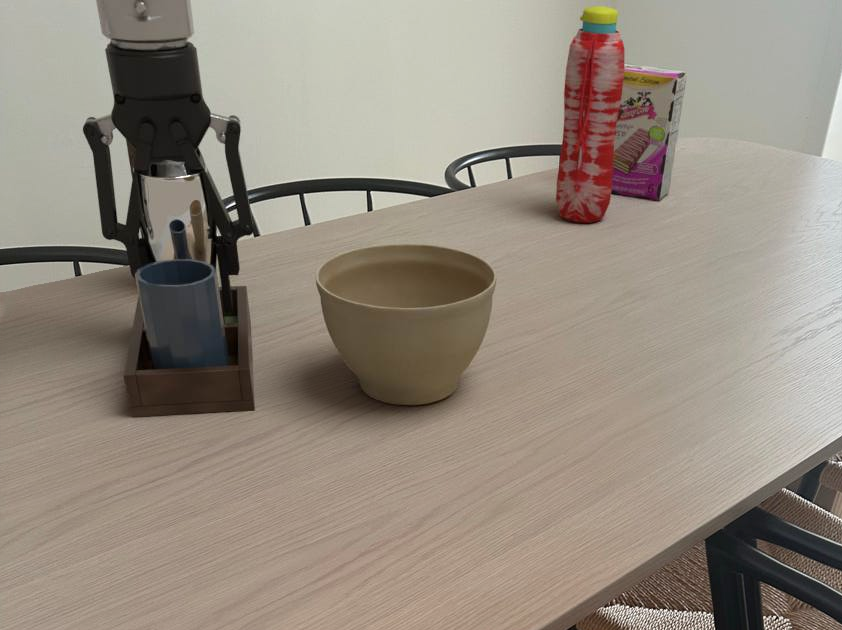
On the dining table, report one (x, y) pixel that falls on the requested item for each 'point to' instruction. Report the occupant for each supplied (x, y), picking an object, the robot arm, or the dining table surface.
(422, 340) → the planter bowl
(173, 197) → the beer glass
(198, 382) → the glass rack
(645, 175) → the candy bar box
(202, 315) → the tumbler
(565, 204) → the water bottle
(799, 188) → the dining table surface
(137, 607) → the dining table surface
